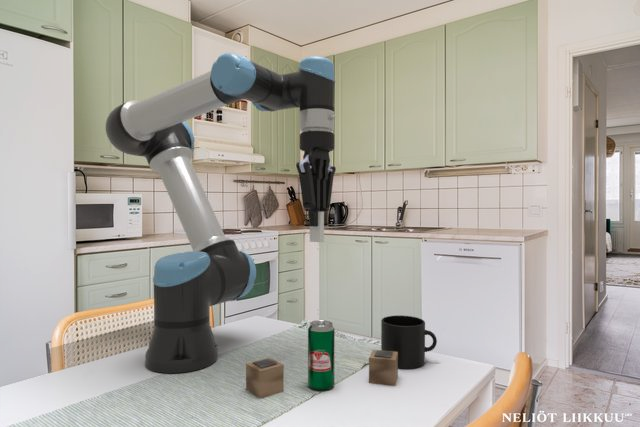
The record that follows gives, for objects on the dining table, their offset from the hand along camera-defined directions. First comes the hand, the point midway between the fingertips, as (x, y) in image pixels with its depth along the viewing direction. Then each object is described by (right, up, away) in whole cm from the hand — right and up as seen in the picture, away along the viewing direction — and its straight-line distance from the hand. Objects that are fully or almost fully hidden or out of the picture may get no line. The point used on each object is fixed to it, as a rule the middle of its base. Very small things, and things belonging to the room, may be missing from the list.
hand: (316, 241), depth 95 cm
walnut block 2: (+13, -27, -9) cm, 31 cm away
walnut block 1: (-10, -27, -14) cm, 32 cm away
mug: (+20, -27, +1) cm, 33 cm away
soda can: (+1, -27, -12) cm, 29 cm away
